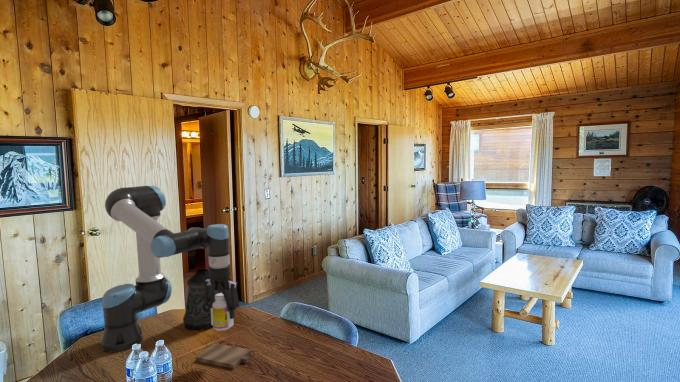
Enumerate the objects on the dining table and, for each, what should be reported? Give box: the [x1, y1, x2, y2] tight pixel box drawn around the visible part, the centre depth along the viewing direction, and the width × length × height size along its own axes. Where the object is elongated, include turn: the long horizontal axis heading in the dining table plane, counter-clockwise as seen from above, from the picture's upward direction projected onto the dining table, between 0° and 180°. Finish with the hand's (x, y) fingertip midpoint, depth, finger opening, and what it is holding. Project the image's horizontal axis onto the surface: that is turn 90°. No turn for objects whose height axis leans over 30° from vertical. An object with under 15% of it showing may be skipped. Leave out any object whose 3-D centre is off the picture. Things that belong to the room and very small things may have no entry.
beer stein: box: [182, 268, 214, 332], centre depth 171 cm, size 16×19×25 cm
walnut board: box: [195, 342, 252, 369], centre depth 140 cm, size 19×11×2 cm, turn 70°
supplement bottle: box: [212, 292, 230, 332], centre depth 139 cm, size 7×7×13 cm
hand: (222, 325), depth 140 cm, fingers closed on supplement bottle, 7 cm apart
